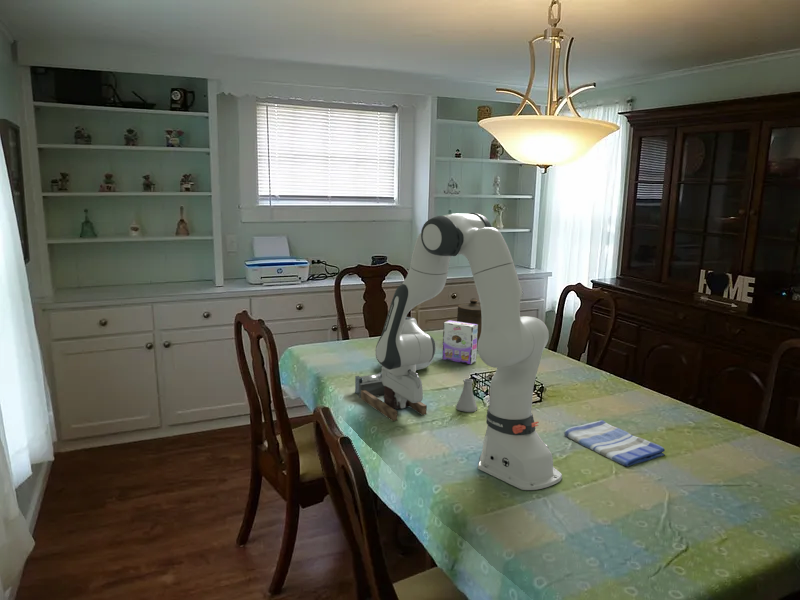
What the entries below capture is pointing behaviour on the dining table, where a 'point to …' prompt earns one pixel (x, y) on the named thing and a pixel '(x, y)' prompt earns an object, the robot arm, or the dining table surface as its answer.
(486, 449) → the robot arm
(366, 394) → the bay
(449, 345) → the candy box
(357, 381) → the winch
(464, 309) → the wooden container
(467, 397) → the flask
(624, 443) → the dish towel
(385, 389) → the box
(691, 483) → the dining table surface
